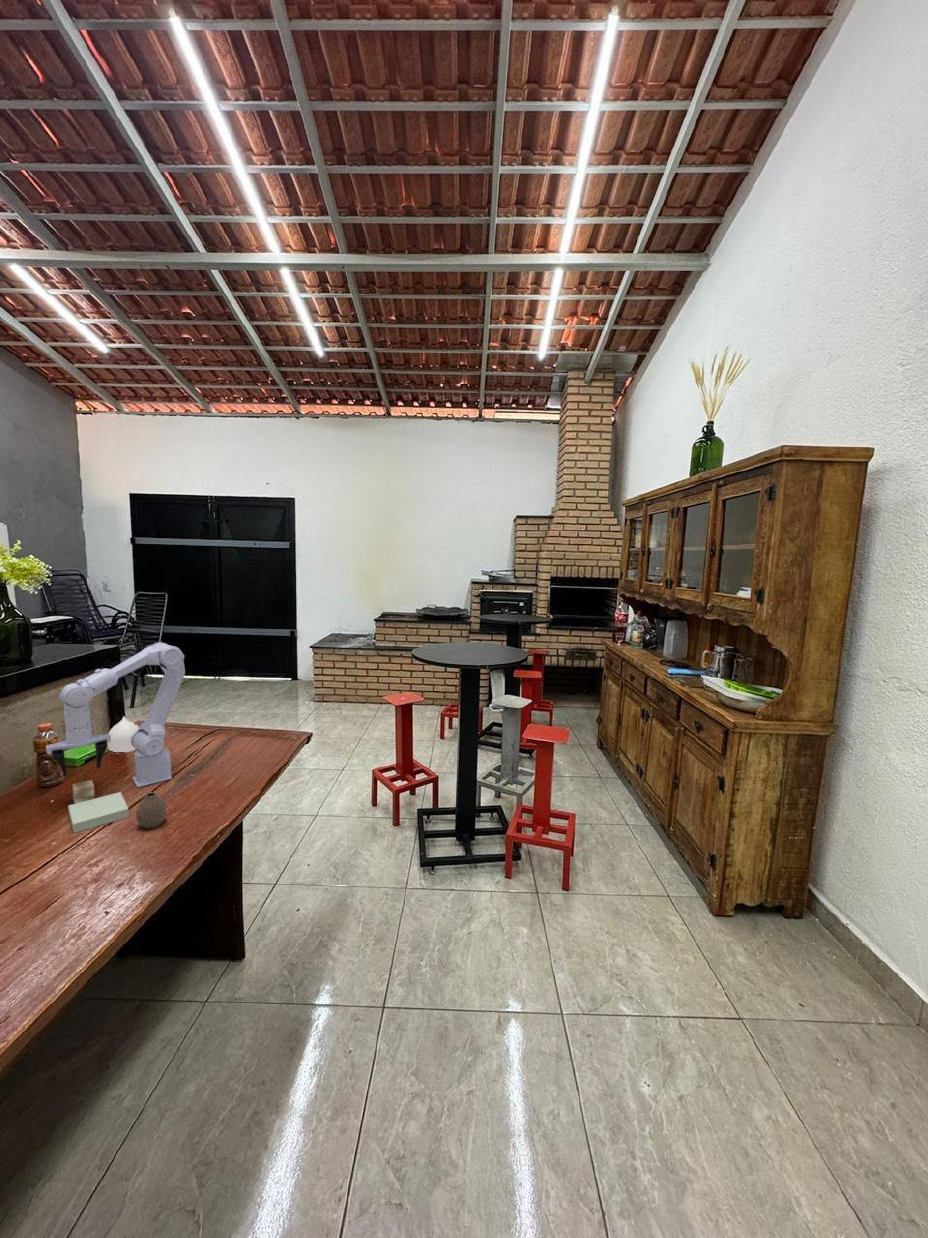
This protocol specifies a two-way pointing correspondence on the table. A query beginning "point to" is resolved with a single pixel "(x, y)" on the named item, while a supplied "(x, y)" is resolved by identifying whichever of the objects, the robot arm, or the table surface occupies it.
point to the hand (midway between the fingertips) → (81, 770)
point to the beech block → (83, 791)
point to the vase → (151, 811)
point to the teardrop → (122, 736)
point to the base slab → (97, 812)
